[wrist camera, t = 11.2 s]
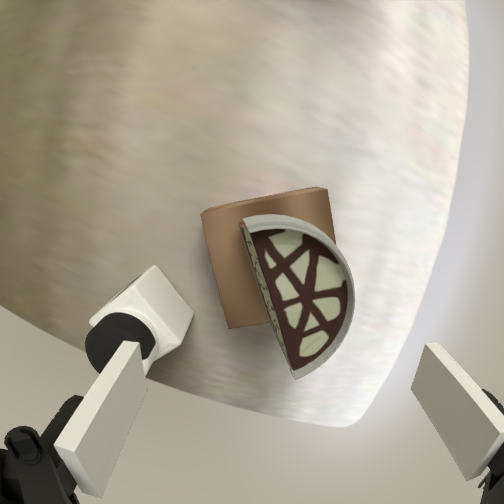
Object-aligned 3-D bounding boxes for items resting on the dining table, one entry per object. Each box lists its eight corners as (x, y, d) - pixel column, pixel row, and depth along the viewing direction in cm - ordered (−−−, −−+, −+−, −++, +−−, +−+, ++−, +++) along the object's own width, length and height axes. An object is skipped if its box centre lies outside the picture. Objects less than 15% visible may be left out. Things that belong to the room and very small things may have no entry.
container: (114, 296, 37) (62, 345, 24) (155, 262, 36) (110, 306, 23) (151, 341, 38) (116, 404, 26) (195, 313, 37) (170, 375, 25)
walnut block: (232, 305, 37) (228, 329, 32) (209, 207, 35) (200, 214, 29) (330, 286, 37) (343, 306, 31) (315, 186, 34) (327, 189, 28)
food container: (326, 305, 31) (371, 354, 22) (270, 325, 31) (296, 385, 21) (297, 187, 28) (342, 192, 18) (232, 207, 28) (246, 222, 18)
